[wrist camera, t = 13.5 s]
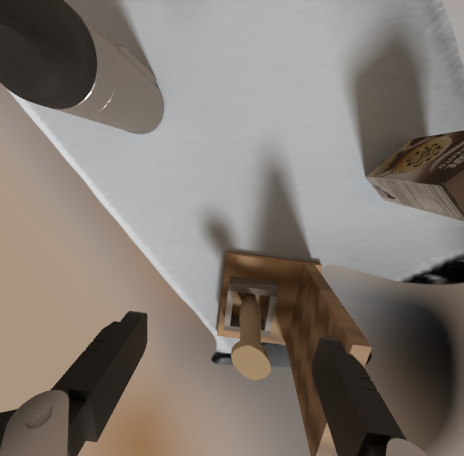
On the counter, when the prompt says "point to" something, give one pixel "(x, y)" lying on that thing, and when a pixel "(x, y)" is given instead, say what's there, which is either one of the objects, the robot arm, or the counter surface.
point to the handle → (250, 343)
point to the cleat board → (266, 273)
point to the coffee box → (425, 175)
